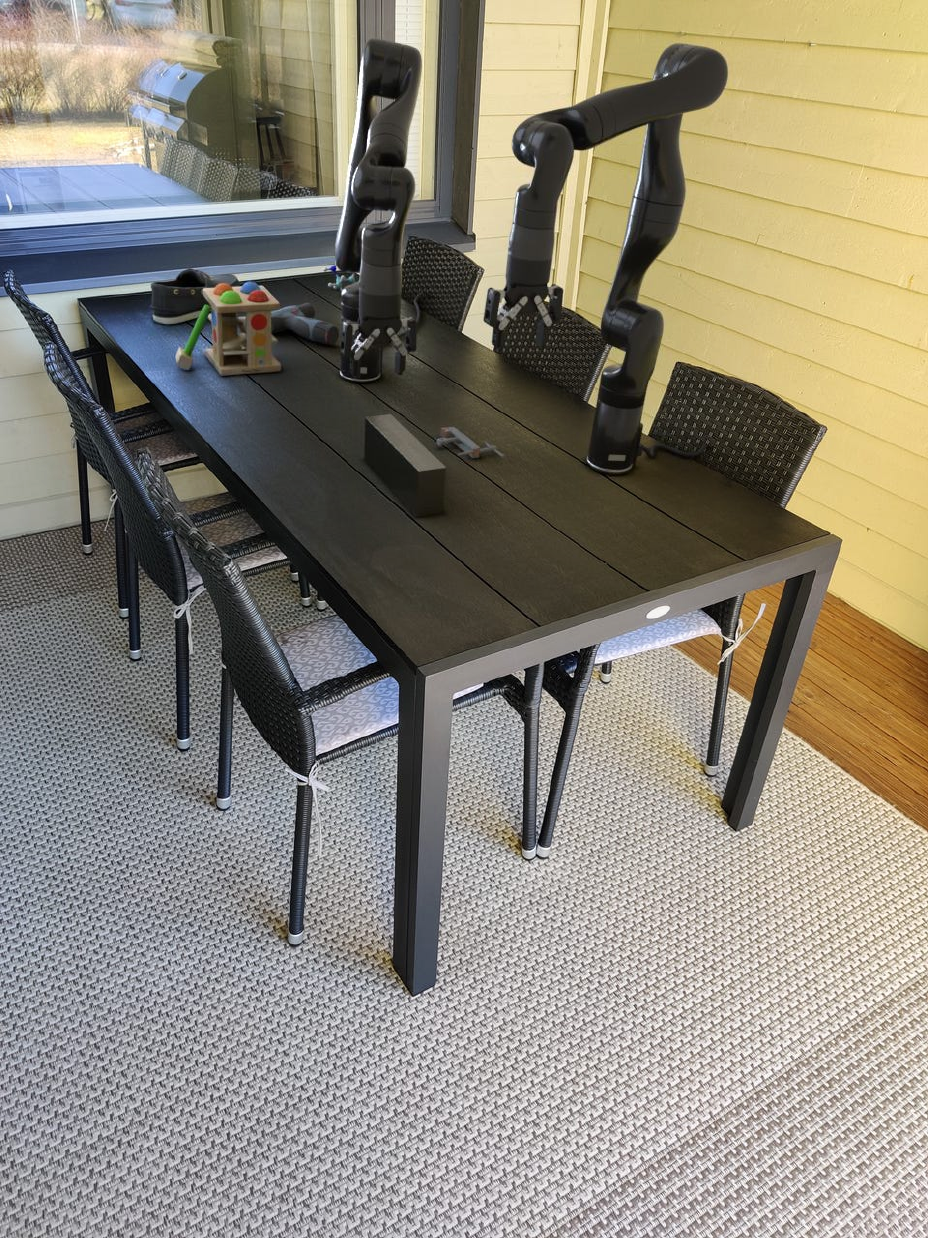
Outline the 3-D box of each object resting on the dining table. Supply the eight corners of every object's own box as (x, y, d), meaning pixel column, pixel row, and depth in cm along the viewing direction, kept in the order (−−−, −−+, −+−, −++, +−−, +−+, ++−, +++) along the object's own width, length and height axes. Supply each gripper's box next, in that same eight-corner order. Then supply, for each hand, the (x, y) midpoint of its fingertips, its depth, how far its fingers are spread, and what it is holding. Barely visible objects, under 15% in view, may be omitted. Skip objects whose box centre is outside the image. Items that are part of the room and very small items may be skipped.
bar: (364, 460, 194) (365, 416, 189) (388, 456, 197) (390, 413, 192) (416, 517, 177) (418, 471, 172) (442, 513, 179) (446, 467, 174)
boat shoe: (260, 302, 272) (258, 264, 267) (170, 326, 248) (166, 284, 243) (226, 294, 278) (223, 256, 272) (135, 316, 254) (130, 275, 248)
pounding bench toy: (183, 379, 220) (176, 299, 210) (169, 357, 231) (162, 280, 221) (282, 371, 230) (280, 294, 220) (264, 350, 240) (262, 276, 230)
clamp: (428, 429, 204) (470, 423, 208) (427, 439, 205) (469, 432, 209) (464, 459, 193) (507, 451, 198) (463, 469, 194) (506, 461, 199)
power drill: (365, 313, 253) (305, 296, 261) (318, 330, 240) (256, 311, 248) (364, 334, 256) (305, 316, 264) (318, 351, 243) (257, 332, 251)
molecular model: (356, 287, 278) (344, 252, 277) (328, 299, 282) (316, 265, 280) (372, 289, 288) (361, 256, 287) (345, 301, 292) (334, 268, 291)
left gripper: (350, 295, 168) (349, 386, 177) (425, 291, 174) (420, 379, 183) (335, 283, 174) (334, 372, 183) (408, 279, 180) (404, 365, 189)
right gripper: (504, 260, 158) (494, 357, 168) (578, 256, 164) (564, 351, 173) (482, 248, 164) (473, 343, 173) (555, 245, 170) (543, 337, 179)
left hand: (377, 375), depth 183 cm, fingers open, 8 cm apart
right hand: (519, 347), depth 173 cm, fingers open, 8 cm apart
